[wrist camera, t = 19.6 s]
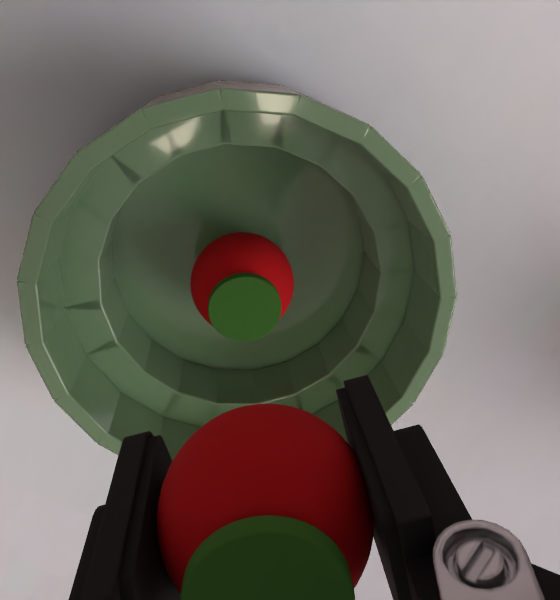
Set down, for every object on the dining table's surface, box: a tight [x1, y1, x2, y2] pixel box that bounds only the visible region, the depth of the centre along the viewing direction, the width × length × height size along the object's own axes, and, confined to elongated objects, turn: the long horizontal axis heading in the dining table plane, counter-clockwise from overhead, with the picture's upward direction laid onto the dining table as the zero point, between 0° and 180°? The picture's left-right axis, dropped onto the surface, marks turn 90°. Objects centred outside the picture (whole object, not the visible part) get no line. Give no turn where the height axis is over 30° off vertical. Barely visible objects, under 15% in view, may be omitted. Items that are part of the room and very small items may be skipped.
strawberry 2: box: [157, 404, 374, 600], centre depth 10 cm, size 4×4×4 cm
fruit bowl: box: [17, 80, 457, 461], centre depth 20 cm, size 14×14×6 cm
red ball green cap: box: [190, 232, 294, 341], centre depth 21 cm, size 4×4×4 cm
